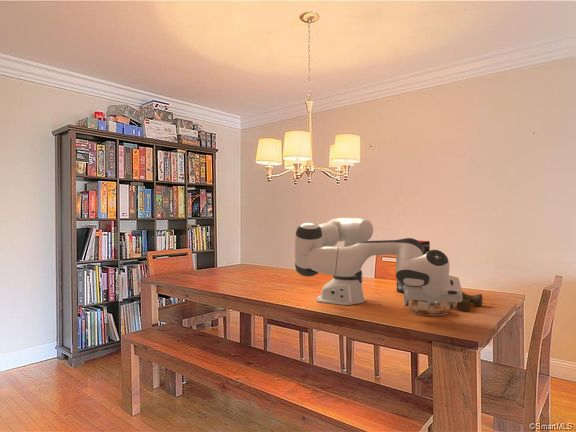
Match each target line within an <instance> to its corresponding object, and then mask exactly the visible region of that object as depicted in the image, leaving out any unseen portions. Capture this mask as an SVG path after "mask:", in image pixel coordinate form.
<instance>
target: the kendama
mask: <svg viewBox="0 0 576 432" xmlns="http://www.w3.org/2000/svg"><path fill="white" fill-rule="evenodd" d="M462 297H463V299H462V301H461V302H456V308H457V310H458V311H460V312H462V313H464V312H465V313H466V312H469V311H470V309H471V307H472V305H473V304H474V305H475V306H477V308H481V307H482V306H483V299H484V298H483V294H482V293H479V294H475V295H470V294H466V293H465V292H463V291H462Z"/></svg>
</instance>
